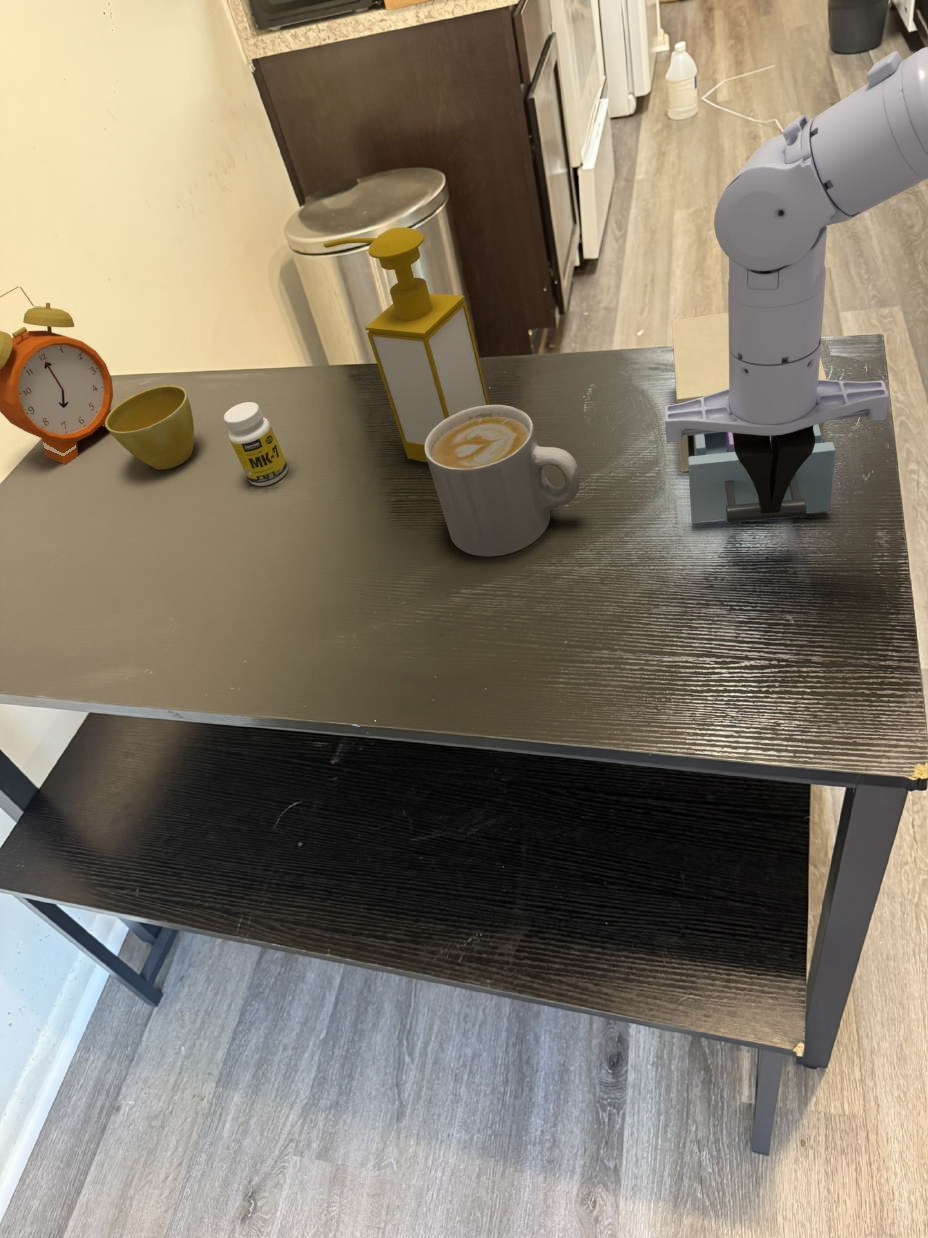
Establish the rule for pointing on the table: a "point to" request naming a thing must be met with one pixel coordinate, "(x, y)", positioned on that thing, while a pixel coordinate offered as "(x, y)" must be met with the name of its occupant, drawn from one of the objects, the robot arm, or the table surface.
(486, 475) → the coffee mug
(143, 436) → the flower pot
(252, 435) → the supplement bottle
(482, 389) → the soap bottle
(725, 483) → the drawer
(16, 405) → the alarm clock
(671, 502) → the table surface
